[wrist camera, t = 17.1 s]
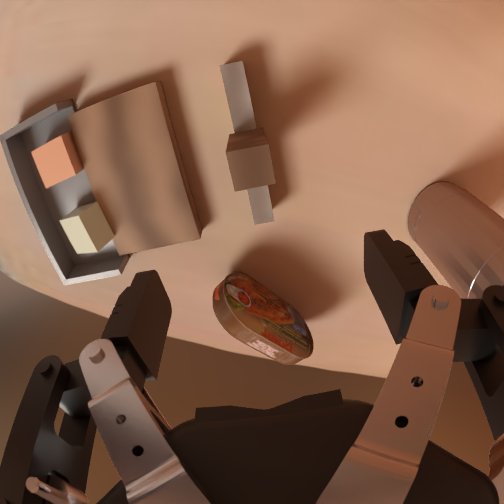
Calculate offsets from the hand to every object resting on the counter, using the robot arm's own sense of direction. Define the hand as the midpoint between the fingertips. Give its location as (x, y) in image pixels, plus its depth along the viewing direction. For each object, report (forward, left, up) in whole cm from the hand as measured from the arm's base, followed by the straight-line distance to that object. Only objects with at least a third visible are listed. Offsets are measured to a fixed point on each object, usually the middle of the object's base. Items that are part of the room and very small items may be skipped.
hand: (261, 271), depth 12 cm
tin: (+2, +20, -22) cm, 30 cm away
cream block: (+19, +4, -20) cm, 28 cm away
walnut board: (+12, 0, -22) cm, 25 cm away
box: (+22, 0, -22) cm, 31 cm away
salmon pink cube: (+20, -5, -21) cm, 29 cm away
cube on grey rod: (0, 0, -22) cm, 22 cm away
